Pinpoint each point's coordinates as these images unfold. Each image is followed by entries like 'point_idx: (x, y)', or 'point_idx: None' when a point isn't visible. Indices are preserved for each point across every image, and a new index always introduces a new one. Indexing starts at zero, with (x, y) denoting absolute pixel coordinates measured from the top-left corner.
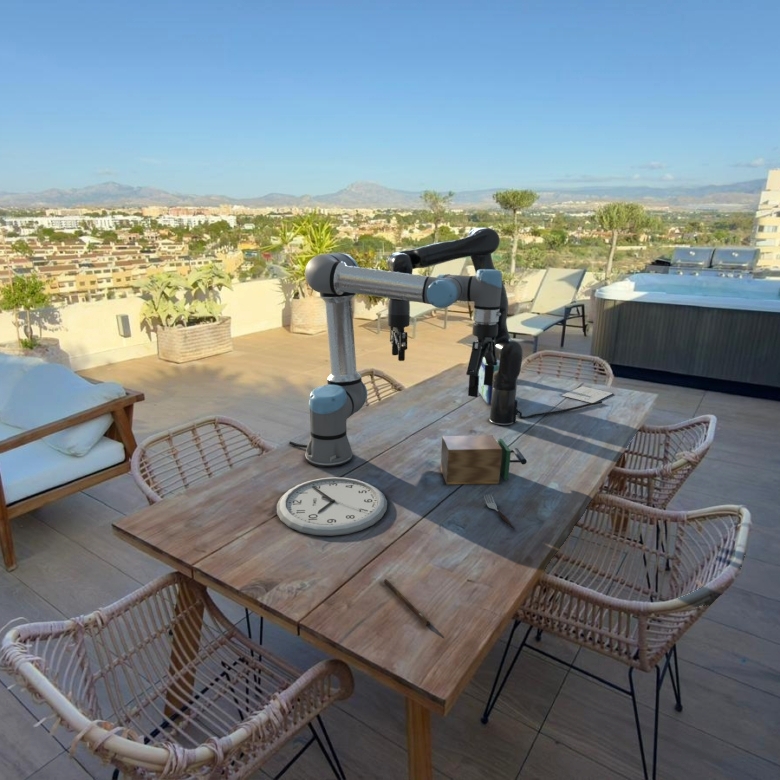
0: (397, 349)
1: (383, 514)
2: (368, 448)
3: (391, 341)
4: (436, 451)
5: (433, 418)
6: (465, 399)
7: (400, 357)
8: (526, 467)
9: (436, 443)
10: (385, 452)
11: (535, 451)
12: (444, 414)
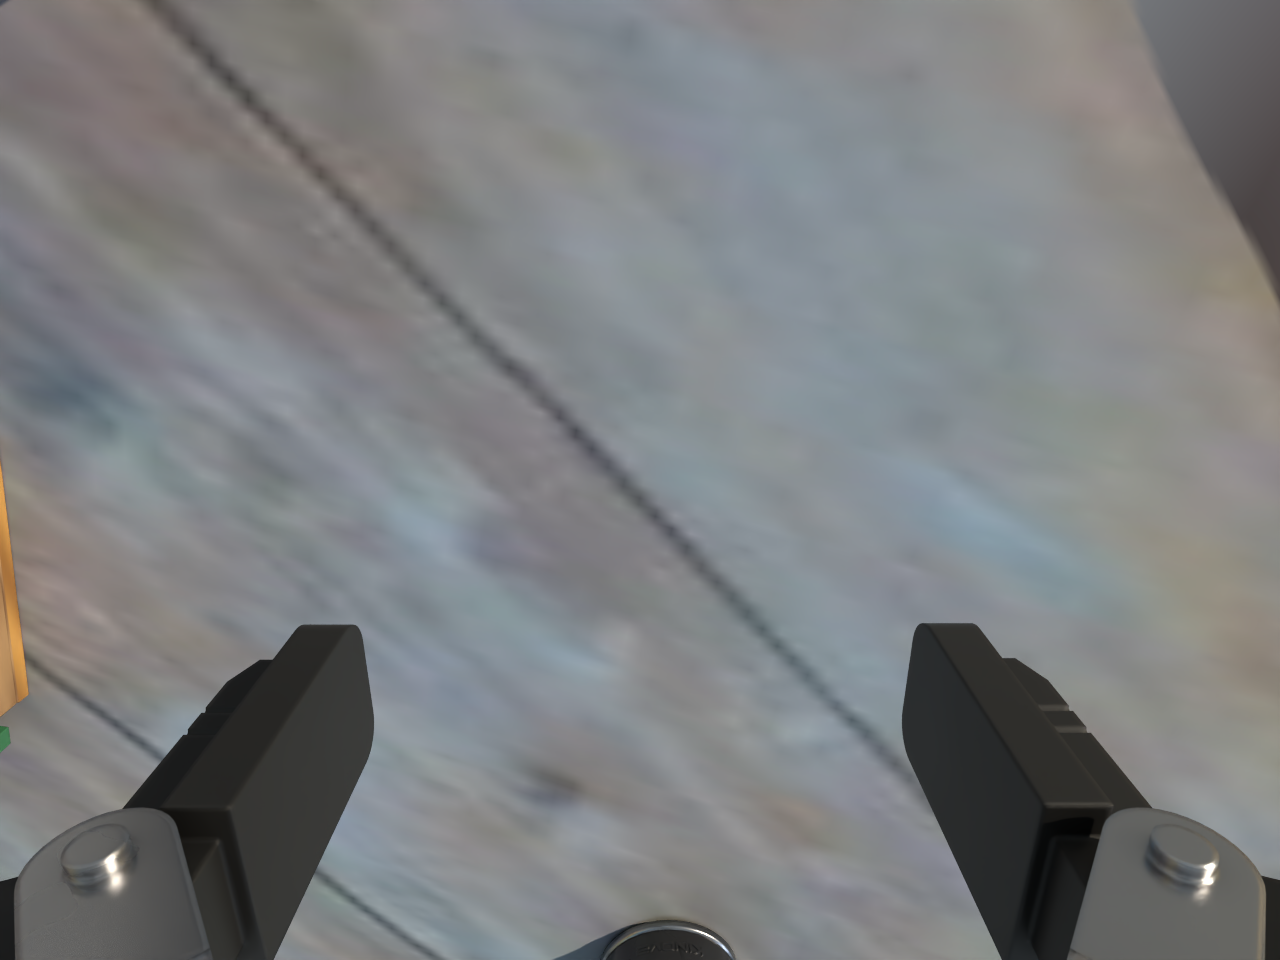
0: (953, 832)
1: None
2: (350, 11)
3: (1253, 909)
4: (264, 495)
5: (835, 651)
6: None
7: (218, 701)
8: None
9: (394, 535)
10: (264, 137)
11: None
12: (885, 736)
